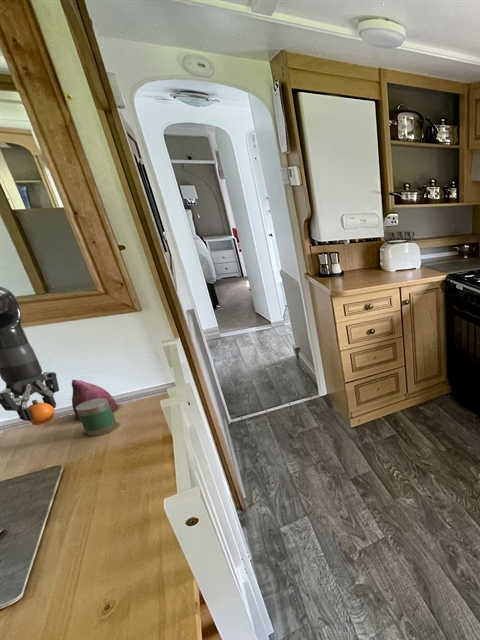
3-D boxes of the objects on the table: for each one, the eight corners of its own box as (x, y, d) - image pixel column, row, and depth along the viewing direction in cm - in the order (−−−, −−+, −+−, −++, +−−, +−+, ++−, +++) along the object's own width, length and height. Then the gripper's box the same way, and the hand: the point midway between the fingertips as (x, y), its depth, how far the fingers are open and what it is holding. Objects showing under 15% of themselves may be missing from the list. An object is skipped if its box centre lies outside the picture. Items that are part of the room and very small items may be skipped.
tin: (79, 435, 113) (68, 410, 110) (100, 422, 120) (90, 397, 116) (103, 436, 113) (92, 410, 110) (123, 423, 120) (114, 398, 116)
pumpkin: (22, 426, 107) (12, 405, 104) (43, 415, 112) (34, 395, 109) (43, 427, 107) (33, 405, 104) (63, 416, 112) (54, 395, 109)
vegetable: (93, 430, 121) (64, 397, 112) (72, 419, 124) (43, 387, 115) (127, 408, 129) (103, 376, 120) (107, 399, 132) (82, 366, 122)
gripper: (30, 350, 109) (52, 401, 115) (-31, 371, 95) (-2, 427, 102) (57, 351, 109) (77, 402, 115) (-1, 372, 95) (26, 428, 102)
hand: (40, 413), depth 108 cm, fingers closed on pumpkin, 5 cm apart
